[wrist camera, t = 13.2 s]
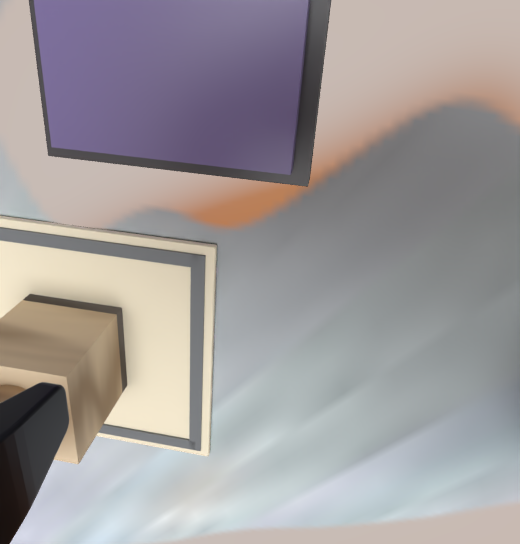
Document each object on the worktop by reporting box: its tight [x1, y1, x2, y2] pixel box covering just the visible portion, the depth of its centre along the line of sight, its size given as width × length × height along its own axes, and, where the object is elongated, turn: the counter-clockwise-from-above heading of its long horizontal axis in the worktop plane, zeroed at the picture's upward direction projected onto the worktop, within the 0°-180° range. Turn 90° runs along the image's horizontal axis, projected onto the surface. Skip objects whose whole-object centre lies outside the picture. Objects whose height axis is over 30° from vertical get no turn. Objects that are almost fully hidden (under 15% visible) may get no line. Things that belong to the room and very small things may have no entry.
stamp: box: [0, 294, 127, 464], centre depth 21 cm, size 4×4×6 cm
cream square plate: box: [0, 216, 217, 456], centre depth 24 cm, size 13×12×1 cm
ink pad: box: [29, 0, 331, 187], centre depth 17 cm, size 10×8×2 cm
